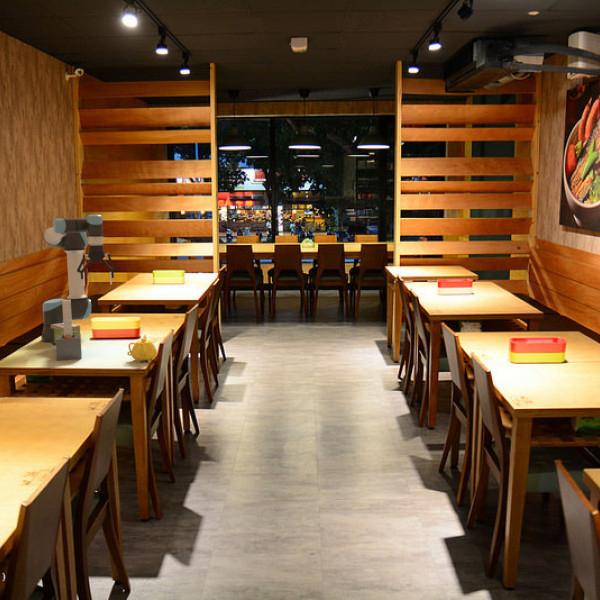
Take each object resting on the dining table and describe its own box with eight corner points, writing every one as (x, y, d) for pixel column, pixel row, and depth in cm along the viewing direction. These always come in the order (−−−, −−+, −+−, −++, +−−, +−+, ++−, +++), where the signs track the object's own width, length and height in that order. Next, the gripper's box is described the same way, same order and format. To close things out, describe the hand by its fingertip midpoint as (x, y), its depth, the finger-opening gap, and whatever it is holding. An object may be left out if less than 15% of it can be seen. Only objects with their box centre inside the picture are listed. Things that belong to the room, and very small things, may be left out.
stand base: (53, 356, 365) (52, 332, 363) (85, 354, 370) (84, 330, 368) (52, 364, 350) (51, 338, 348) (85, 361, 355) (84, 336, 353)
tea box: (81, 352, 376) (80, 325, 374) (64, 355, 369) (62, 327, 367) (68, 347, 387) (67, 321, 384) (51, 350, 380) (49, 323, 377)
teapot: (129, 356, 367) (129, 334, 365) (158, 355, 369) (158, 334, 367) (125, 365, 347) (124, 343, 346) (155, 364, 349) (155, 342, 347)
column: (64, 344, 361) (62, 299, 357) (73, 344, 362) (70, 299, 358) (64, 347, 356) (62, 301, 352) (72, 346, 357) (70, 301, 353)
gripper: (70, 245, 358) (72, 286, 361) (120, 244, 365) (122, 284, 369) (70, 244, 365) (73, 284, 369) (120, 243, 373) (121, 283, 376)
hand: (97, 284), depth 369 cm, fingers open, 13 cm apart
